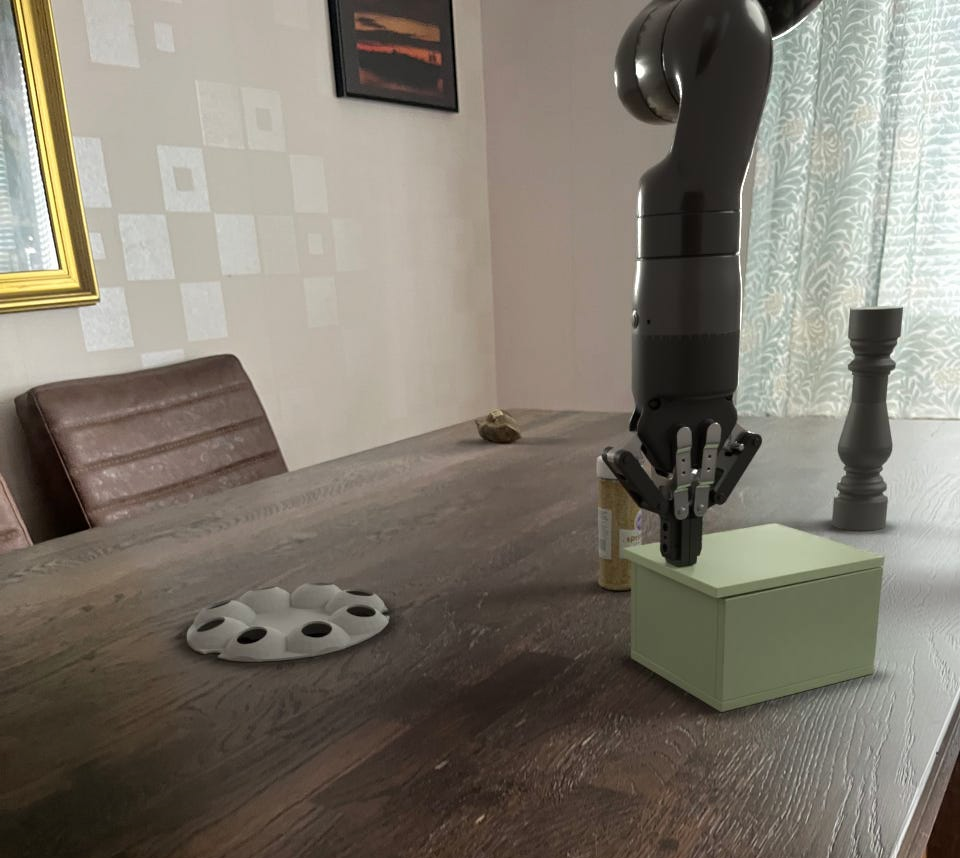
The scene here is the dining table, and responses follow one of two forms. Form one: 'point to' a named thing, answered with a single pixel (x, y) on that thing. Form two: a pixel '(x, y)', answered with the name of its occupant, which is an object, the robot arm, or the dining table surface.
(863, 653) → the chest
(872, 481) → the candle holder
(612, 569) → the sprinkles bottle
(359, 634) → the round palette
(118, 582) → the dining table surface
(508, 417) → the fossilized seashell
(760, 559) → the lid
